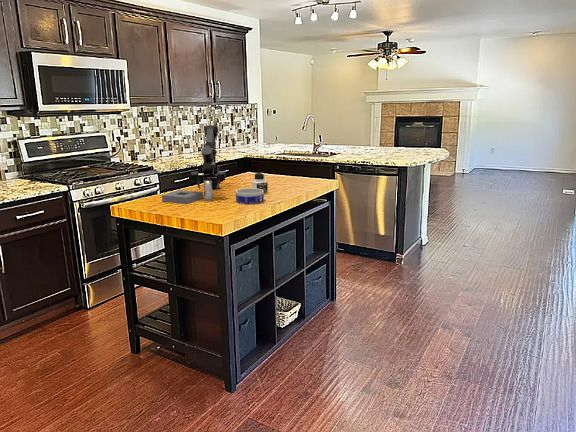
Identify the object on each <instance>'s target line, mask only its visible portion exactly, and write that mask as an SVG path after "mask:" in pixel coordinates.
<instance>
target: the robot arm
mask: <svg viewBox="0 0 576 432" xmlns="http://www.w3.org/2000/svg"><path fill="white" fill-rule="evenodd" d="M203 131H204V134H205V135H206V137H205V144H204V145H203V147H202V148H201V157H202V159H203V163H202V173H199V171H191V172H190V179H191V181H192V182H194V183H196V185H197V187H198V189H199V190H200V189H201V185H200V178H201V179H203V178H205V180H212V190H220V189H221V188H220V184H221V183H224V181H226V172H225V170H223V171H222V170H220V169H219V166H218V165H217V162H216V161H217V159H216V156H217V154H218V151H217V149H216V139H217V138H218V135H219V126H217V125H213V124H210V125H206V126H204V127H203Z"/></svg>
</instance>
